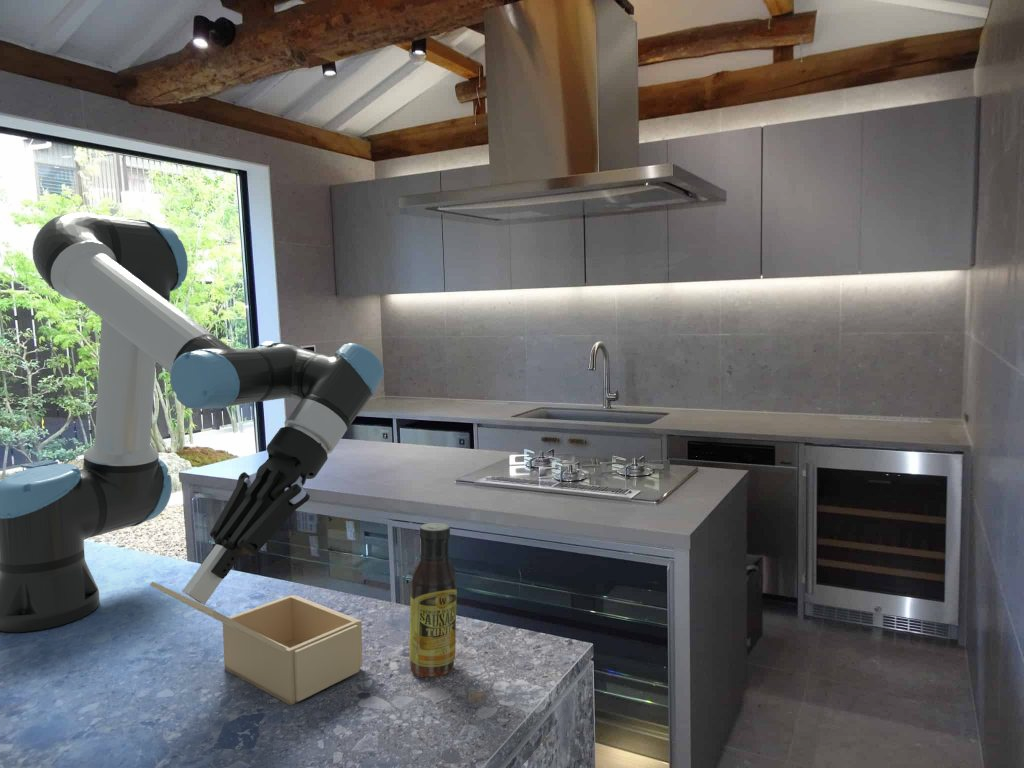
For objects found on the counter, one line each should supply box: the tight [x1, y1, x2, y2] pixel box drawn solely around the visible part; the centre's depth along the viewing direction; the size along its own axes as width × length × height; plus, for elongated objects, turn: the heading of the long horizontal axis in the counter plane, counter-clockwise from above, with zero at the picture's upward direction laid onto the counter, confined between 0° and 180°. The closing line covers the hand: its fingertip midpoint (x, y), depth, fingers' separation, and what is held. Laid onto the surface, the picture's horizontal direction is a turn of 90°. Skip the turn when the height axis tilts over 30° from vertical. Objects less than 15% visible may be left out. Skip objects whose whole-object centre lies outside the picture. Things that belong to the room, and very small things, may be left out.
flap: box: [149, 581, 286, 652], centre depth 89 cm, size 14×1×12 cm
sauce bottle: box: [408, 522, 458, 679], centre depth 97 cm, size 7×6×20 cm
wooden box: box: [222, 594, 363, 707], centre depth 98 cm, size 16×12×7 cm
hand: (193, 597), depth 86 cm, fingers closed
